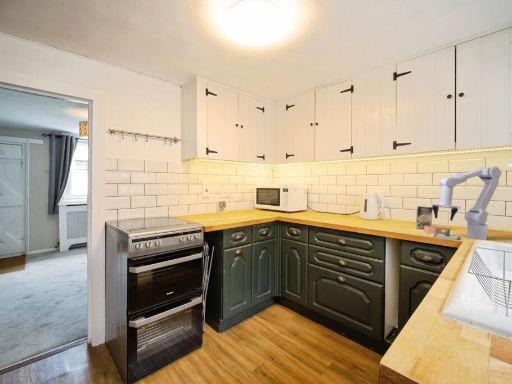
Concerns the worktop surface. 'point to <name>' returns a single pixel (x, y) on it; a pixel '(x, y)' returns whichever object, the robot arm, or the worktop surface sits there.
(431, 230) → the bowl
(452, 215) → the robot arm
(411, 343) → the worktop surface
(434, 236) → the mat
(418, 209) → the coffee box
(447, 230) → the lid
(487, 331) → the worktop surface
